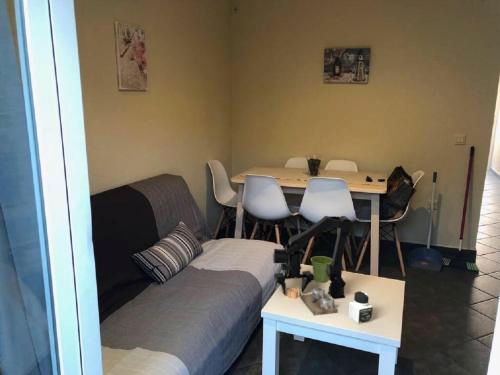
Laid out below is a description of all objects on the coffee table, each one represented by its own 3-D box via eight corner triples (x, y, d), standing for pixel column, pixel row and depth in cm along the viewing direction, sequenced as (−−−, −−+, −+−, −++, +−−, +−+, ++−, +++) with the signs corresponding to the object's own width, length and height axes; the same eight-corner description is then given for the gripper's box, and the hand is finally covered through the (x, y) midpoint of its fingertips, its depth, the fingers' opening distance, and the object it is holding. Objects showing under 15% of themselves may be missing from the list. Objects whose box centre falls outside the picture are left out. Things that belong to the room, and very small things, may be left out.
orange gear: (296, 292, 201) (296, 286, 201) (300, 297, 196) (301, 292, 195) (285, 293, 200) (285, 287, 199) (289, 299, 194) (289, 293, 194)
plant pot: (329, 275, 223) (330, 255, 221) (334, 284, 212) (335, 264, 209) (307, 275, 223) (308, 255, 220) (312, 284, 211) (313, 264, 209)
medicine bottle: (358, 324, 172) (360, 298, 170) (348, 316, 179) (349, 291, 177) (371, 321, 175) (374, 295, 173) (361, 313, 182) (363, 288, 179)
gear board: (321, 295, 198) (322, 285, 197) (336, 312, 182) (337, 301, 181) (300, 298, 196) (300, 287, 194) (313, 315, 179) (314, 303, 178)
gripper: (306, 255, 204) (305, 284, 207) (271, 258, 200) (270, 287, 203) (315, 264, 194) (313, 294, 197) (277, 266, 189) (276, 298, 192)
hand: (293, 293), depth 198 cm, fingers open, 9 cm apart
